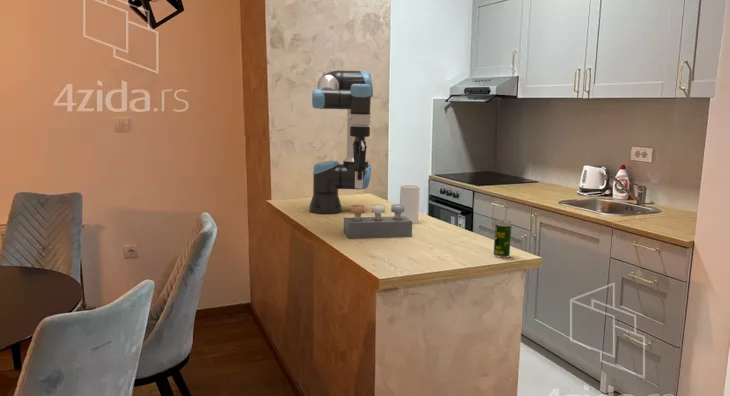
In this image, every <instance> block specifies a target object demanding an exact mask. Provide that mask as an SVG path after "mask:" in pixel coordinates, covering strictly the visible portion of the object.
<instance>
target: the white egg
mask: <svg viewBox="0 0 730 396" xmlns="http://www.w3.org/2000/svg"><path fill="white" fill-rule="evenodd" d="M370 207H371V208H370V209H371V210H370V211H371V213H373V214H374V217H375V220H381V217H382V214H384V213H385V211H386V206H385V205H383V204H372V205H371V206H370Z"/></svg>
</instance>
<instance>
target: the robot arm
mask: <svg viewBox="0 0 730 396" xmlns="http://www.w3.org/2000/svg"><path fill="white" fill-rule="evenodd" d="M372 79H373V78H372V74H371V73H370V72H369V71H364V70H332V71H329V72H326V73H325V74H322V75H321V76H320V77H319V78H318V81H317V85H316V86H317V88H314V89H313V90H312V95H311V98H312V99H311V102H312V103H311V105H312V108H314V109H316V110H317V109H318V110H323V109H324V110H347V113H346V114H347V115H346V117H347V119H346V121H347V122H346V124H347V125H346V127H347V128H346V157H344V159H343V163H340V161H338V160H327V161H321V162H317V163H315V164H314V165H313V171H312V172H313V173H312V175H313V180H312V181H313V184H312V185H313V187H312V189H313V190H312V191H313V192H312V198H311V200H310V202H309V203H310V204H309V207H308V208H309V212H311V213H314V214H319V215H322V214H323V215H328V214H329V215H331V214H339V213H342V208H343V207H342V204H341V200H340V197H339V190H357V191H358V190H367V189H368V187H369V184H370V181H371V176H372V164H369V160H368V159H367V158H366V155H367V148H368V146H367V142H366V138H368V137H370V135H371V127H370V125H371V102H372V100H371V98H373V96H374V92H373V91H374V90H373V88H374V87H373V80H372Z"/></svg>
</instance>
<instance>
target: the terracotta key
mask: <svg viewBox="0 0 730 396" xmlns="http://www.w3.org/2000/svg"><path fill="white" fill-rule="evenodd" d="M365 209H366V207H365V205H360V204H355V205H354V204H353V205H351V207H350V213H351V214H354V217H355V221H361V217H362V214H365V213H366V212H365V211H366V210H365Z"/></svg>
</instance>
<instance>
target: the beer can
mask: <svg viewBox="0 0 730 396" xmlns="http://www.w3.org/2000/svg"><path fill="white" fill-rule="evenodd" d="M494 225H495V226H494V240H493V242H494V243H493V255H495V256H499V257H507V256H509V257H510V253H511V241H512V240H511V239H512V236H511V235H512V222H511V221H510V220H504V219H503V220H501V219H500V220H496V221H495V224H494ZM495 256H494V257H495ZM499 257H498V258H499ZM507 258H508V257H507Z"/></svg>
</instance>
